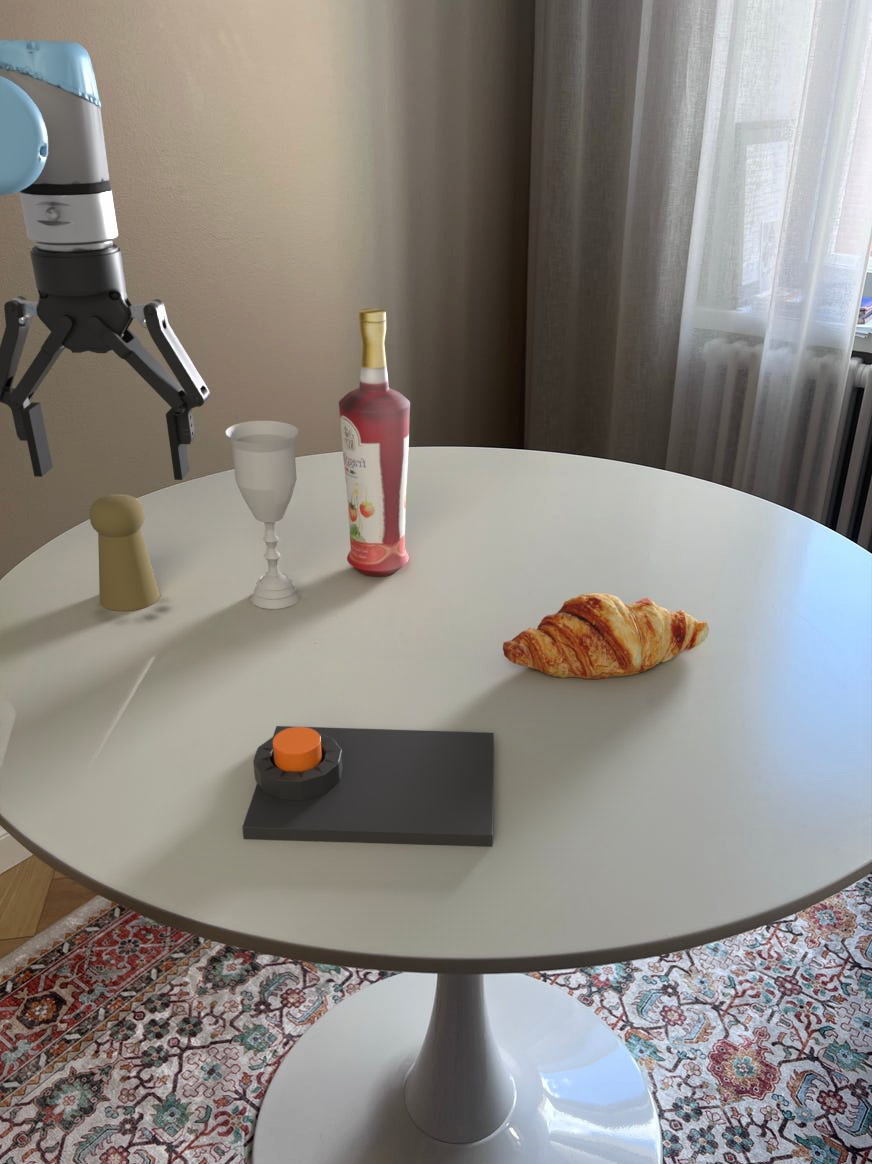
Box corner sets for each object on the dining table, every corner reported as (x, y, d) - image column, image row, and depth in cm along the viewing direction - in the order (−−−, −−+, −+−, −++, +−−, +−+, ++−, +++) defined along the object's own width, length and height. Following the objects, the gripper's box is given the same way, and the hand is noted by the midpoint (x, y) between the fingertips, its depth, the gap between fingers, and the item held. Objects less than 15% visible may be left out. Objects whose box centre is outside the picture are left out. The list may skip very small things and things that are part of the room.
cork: (97, 613, 103) (79, 512, 98) (101, 587, 108) (85, 489, 103) (159, 608, 105) (144, 508, 99) (161, 582, 110) (147, 486, 104)
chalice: (228, 594, 108) (211, 429, 99) (284, 577, 112) (272, 416, 103) (266, 620, 103) (251, 448, 94) (322, 600, 107) (313, 434, 98)
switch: (270, 772, 77) (268, 753, 76) (279, 744, 80) (277, 725, 79) (317, 773, 77) (316, 754, 76) (325, 746, 80) (323, 727, 79)
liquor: (423, 572, 114) (424, 314, 100) (367, 588, 110) (359, 322, 96) (388, 549, 119) (383, 301, 105) (333, 564, 115) (321, 308, 101)
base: (240, 840, 74) (236, 807, 72) (274, 737, 85) (271, 707, 84) (492, 847, 74) (493, 815, 72) (492, 744, 85) (494, 714, 84)
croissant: (685, 660, 105) (677, 582, 105) (739, 662, 95) (731, 577, 95) (491, 687, 98) (482, 605, 98) (529, 693, 89) (519, 602, 89)
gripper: (-89, 247, 86) (-32, 484, 97) (205, 253, 86) (231, 490, 97) (-48, 234, 93) (2, 457, 103) (226, 240, 93) (248, 463, 103)
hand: (113, 473), depth 100 cm, fingers open, 13 cm apart
